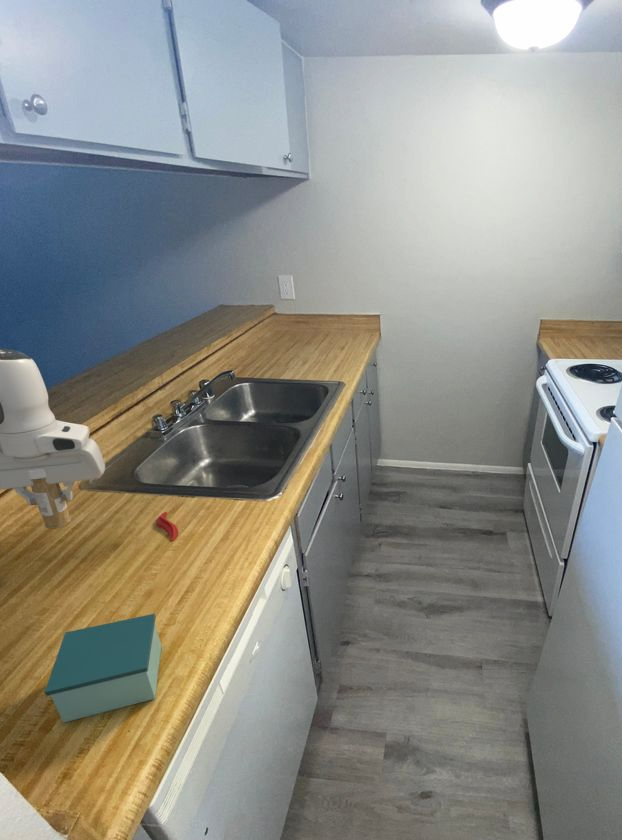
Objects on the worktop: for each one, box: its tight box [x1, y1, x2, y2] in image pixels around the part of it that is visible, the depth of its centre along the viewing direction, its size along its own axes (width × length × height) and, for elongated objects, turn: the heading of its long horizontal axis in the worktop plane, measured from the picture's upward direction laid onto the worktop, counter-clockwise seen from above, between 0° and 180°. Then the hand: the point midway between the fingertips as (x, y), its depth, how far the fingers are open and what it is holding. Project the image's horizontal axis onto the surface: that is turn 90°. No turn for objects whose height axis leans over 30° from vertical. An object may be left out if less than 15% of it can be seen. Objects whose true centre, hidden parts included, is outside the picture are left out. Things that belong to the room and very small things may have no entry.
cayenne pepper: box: [155, 511, 179, 542], centre depth 108 cm, size 12×5×2 cm, turn 24°
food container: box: [44, 613, 162, 723], centre depth 72 cm, size 13×11×7 cm
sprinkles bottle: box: [27, 469, 72, 530], centre depth 91 cm, size 5×5×13 cm
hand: (51, 501), depth 92 cm, fingers closed on sprinkles bottle, 4 cm apart
